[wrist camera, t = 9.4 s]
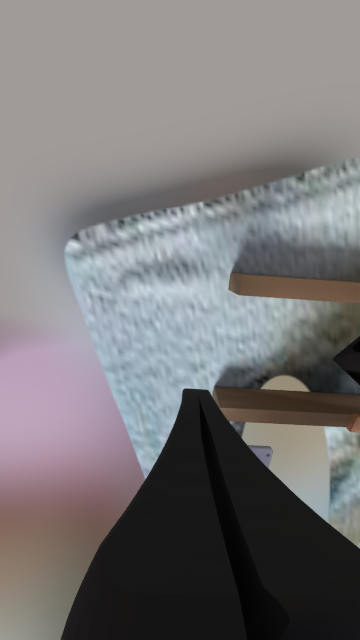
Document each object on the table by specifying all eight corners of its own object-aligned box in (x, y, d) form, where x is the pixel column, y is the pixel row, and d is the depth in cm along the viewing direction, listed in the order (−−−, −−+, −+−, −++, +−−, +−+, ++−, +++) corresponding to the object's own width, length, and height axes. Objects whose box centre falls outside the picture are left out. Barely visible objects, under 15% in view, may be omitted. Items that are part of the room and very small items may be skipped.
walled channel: (387, 408, 21) (427, 435, 17) (212, 399, 20) (218, 425, 17) (449, 286, 17) (515, 292, 13) (231, 270, 16) (244, 272, 13)
